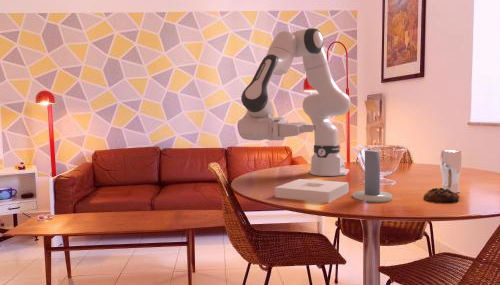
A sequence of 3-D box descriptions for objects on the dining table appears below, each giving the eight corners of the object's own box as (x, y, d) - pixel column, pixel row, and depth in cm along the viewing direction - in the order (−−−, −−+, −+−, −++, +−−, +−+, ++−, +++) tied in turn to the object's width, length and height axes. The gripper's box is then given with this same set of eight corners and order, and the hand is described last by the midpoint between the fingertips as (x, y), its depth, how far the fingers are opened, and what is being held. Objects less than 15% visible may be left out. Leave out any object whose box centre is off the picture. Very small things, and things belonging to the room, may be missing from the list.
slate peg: (366, 192, 144) (367, 150, 143) (381, 193, 141) (381, 150, 140) (362, 194, 139) (362, 151, 138) (377, 196, 137) (377, 152, 136)
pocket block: (299, 188, 160) (299, 178, 160) (348, 193, 150) (348, 182, 150) (275, 198, 144) (275, 187, 143) (328, 204, 133) (328, 192, 133)
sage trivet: (359, 193, 149) (359, 189, 149) (395, 196, 142) (395, 192, 142) (347, 200, 138) (347, 195, 138) (386, 204, 131) (386, 199, 131)
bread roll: (442, 204, 129) (441, 188, 129) (416, 202, 139) (415, 187, 140) (467, 202, 133) (466, 187, 134) (440, 200, 144) (439, 186, 144)
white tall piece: (444, 189, 154) (444, 149, 153) (463, 191, 149) (464, 150, 148) (436, 191, 149) (437, 151, 148) (457, 194, 144) (457, 152, 143)
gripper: (284, 134, 165) (318, 134, 161) (272, 139, 146) (311, 139, 142) (284, 119, 164) (318, 118, 160) (272, 122, 145) (311, 121, 141)
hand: (315, 128), depth 151 cm, fingers open, 8 cm apart
